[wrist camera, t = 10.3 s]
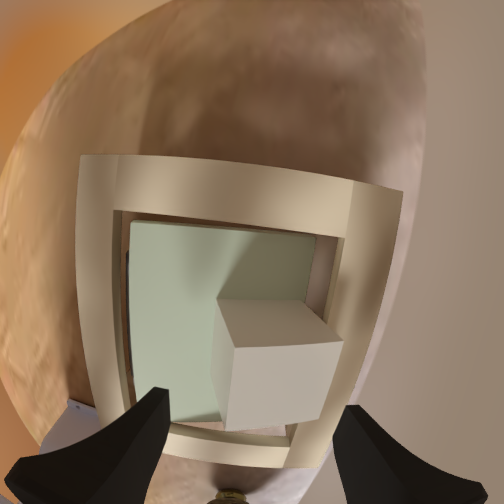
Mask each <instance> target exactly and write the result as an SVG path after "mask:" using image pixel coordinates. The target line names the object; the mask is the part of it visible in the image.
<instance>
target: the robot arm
mask: <svg viewBox="0 0 504 504" xmlns="http://www.w3.org/2000/svg"><path fill="white" fill-rule="evenodd" d="M67 405H68V407H67V409H66V410H65V411H64V412H63V414H62V415H61V416H60V418H59V419H58V420H57V422H56V423H55V424H54V426H53V427H52V428H51V430H50V431H49V432H48V434H47V435H46V436H45V438H44V439H43V441H42V444H41V447H40V451H39V455H35V456H29V457H22V458H20V459H19V460H18V461H17V462H16V463H15V464H14V466H13V467H12V469H11V470H10V471H9V473H8V474H7V476H6V477H5V479H4V481H5V483H6V485H7V487H8V488H9V489H10V490H11V492H12V493H13V494H14V495H15V496H16V497H17V498H18V499H19V501H18V503H17V504H144V501H145V497H146V493H147V489H148V486H149V483H150V481H151V478H152V476H153V473H154V471H155V468H156V466H157V463H158V461H159V459H160V456H161V454H162V451H163V449H164V446H165V444H166V440H167V436H168V433H169V428H170V424H171V417H170V398H169V389H164V388H160V387H153V388H152V389H151V390H150V391H149V392H148V393H147V394H146V395H144V396H143V397H142V398H141V399H140V400H139V401H138V402H137V403H136V404H135V405H133V406H132V407H131V408H130V409H129V410H127V411H126V412H125V413H124V414H123V415H121V416H120V417H119V418H117V419H116V420H115V421H113V422H112V423H110V424H109V425H108V426H106V427H105V428H103V429H101V425H100V422H99V418H98V415H97V411H96V408H93V407H90V406H88V405H85V404H82V403H80V402H77V401H74V400H72V399H68V400H67ZM332 439H333V448H334V454H335V459H336V463H337V467H338V470H339V474H340V477H341V481H342V484H343V488H344V492H345V495H346V500H347V504H484V503H485V501H486V500H487V498H488V494H487V493H486V491H485V489H484V488H483V486H482V484H481V483H480V482H475V481H471V480H467V479H463V478H460V477H457V476H454V475H452V474H449V473H447V472H444V471H442V470H440V469H438V468H436V467H434V466H432V465H430V464H428V463H426V462H424V461H423V460H421V459H420V458H418V457H417V456H415V455H414V454H412V453H411V452H409V451H408V450H407V449H406V448H404V447H403V446H402V445H401V444H399V443H398V442H397V441H396V440H395V439H393V438H392V437H391V436H390V435H389V434H388V433H387V432H386V431H385V430H384V429H383V428H382V427H380V426H379V425H378V423H377V422H376V421H375V420H374V419H372V417H371V416H370V415H369V414H368V413H367V412H366V411H365V410H364V409H363V408H362V407H361V406H360V405H346V406H345V408H344V411H343V413H342V415H341V418H340V420H339V423H338V425H337V427H336V429H335V432H334V434H333V436H332ZM0 504H13V503H12V502H11V501H9V500H8V499H6V498H5V497H4V496H2V495H1V494H0Z"/></svg>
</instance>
